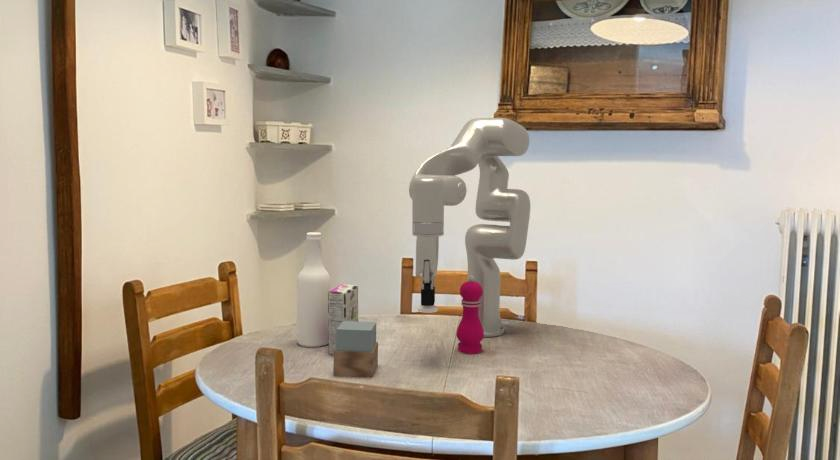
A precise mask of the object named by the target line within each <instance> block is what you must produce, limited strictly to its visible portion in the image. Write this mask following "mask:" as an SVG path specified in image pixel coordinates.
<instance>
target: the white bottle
mask: <svg viewBox="0 0 840 460" xmlns="http://www.w3.org/2000/svg"><path fill="white" fill-rule="evenodd" d="M305 239H306V248H305V258H304V259H305V260H304V265H303V268H302V269H301V270H300V272H299V273H298V275H297V280H296V323H297V324H296V325H297V326H296V329H297V330H296V332H297V333H296V341H297V343H298V344H299V346H301V347H305V348H320V347H324V346H327V345H329V329H328V292H329V291H331V276H330V274H329V272H328V271H327V269H326V268H325V266H324V263H323V252H322V251H323V250H322V233H321V232H318V231H310V232H307V233H306V238H305Z"/></svg>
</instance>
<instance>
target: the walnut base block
mask: <svg viewBox="0 0 840 460" xmlns="http://www.w3.org/2000/svg"><path fill="white" fill-rule="evenodd" d="M378 367H379V342H378V341H376V344H375V346H374V348H373V349H372V351H371V352H355V351H336V349H335V350H334V355H333V369H332V370H333V374H332V375H333V377H339V378H340V377H341V378H344V377H345V378H367V377H369V378H370V379H371V378H372V379H373V377H374V375H375V373H376V371H377V369H378ZM369 378H368V379H369Z"/></svg>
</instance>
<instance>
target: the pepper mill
mask: <svg viewBox="0 0 840 460" xmlns="http://www.w3.org/2000/svg"><path fill="white" fill-rule="evenodd" d="M468 280H469V281H468ZM467 281H468V282H467ZM467 281H465V282H463V283H462V284H461V286H460V288H459V295H460V296H461V303H460V304H461V306H462V317H461V319H460V322H459V324H458V326H457V328H456V338H457V339H458V341H459V342H458V343H457V351H458V352H459V353H462V354H467V355H469V354H470V355H475V354H480V353H481V352H482V349H483V344H482V343H481V341H483V339H484V338H485V337H484V331H483V327H482V325H481V322H480V319H479V313H478V310H479V306H480V305H481V304H480V302H481V301H480V300H479V299H480V297H481V296H482V294H483V289H482V286H481V285H480V284H479V283H477V282H474V281H475V277H474V276H472V275H471V276H469V277H468V276H467Z"/></svg>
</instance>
